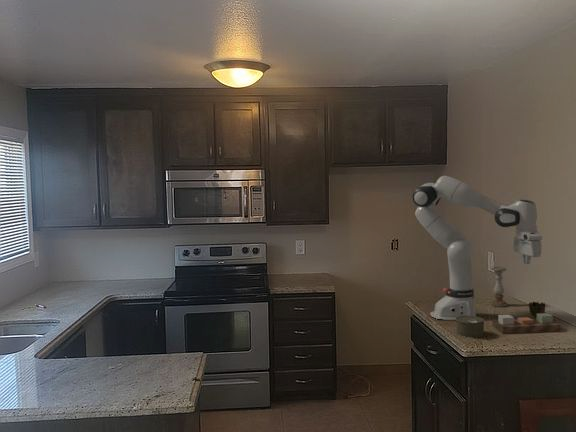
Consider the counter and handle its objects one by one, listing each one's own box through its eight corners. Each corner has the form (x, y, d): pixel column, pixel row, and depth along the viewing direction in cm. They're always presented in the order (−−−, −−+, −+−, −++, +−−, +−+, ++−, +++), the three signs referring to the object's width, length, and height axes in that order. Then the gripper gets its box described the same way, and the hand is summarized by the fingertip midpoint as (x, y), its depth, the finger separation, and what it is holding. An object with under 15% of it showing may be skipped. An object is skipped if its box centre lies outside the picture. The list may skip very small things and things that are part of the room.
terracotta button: (522, 328, 244) (522, 320, 243) (517, 324, 249) (517, 317, 248) (533, 327, 244) (533, 320, 243) (528, 324, 249) (528, 317, 248)
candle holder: (496, 302, 296) (496, 266, 295) (511, 305, 289) (510, 268, 288) (487, 305, 291) (486, 268, 290) (501, 308, 284) (501, 270, 283)
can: (476, 329, 248) (476, 314, 248) (489, 337, 236) (489, 321, 236) (451, 331, 247) (451, 316, 246) (463, 339, 235) (463, 323, 234)
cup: (526, 319, 261) (526, 303, 260) (532, 316, 266) (532, 300, 265) (542, 322, 255) (542, 305, 255) (547, 319, 260) (547, 303, 260)
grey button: (503, 325, 243) (502, 317, 243) (498, 322, 248) (498, 315, 248) (513, 325, 243) (513, 317, 243) (509, 322, 248) (508, 314, 248)
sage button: (541, 323, 244) (541, 316, 243) (536, 320, 249) (536, 313, 248) (552, 323, 244) (552, 315, 244) (547, 320, 249) (547, 313, 249)
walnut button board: (503, 333, 240) (503, 327, 240) (492, 326, 252) (492, 320, 252) (560, 331, 241) (560, 324, 240) (546, 323, 253) (546, 317, 252)
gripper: (509, 232, 259) (510, 260, 260) (530, 237, 239) (530, 267, 240) (522, 231, 260) (522, 260, 261) (544, 236, 239) (544, 267, 240)
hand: (526, 263), depth 250 cm, fingers closed
